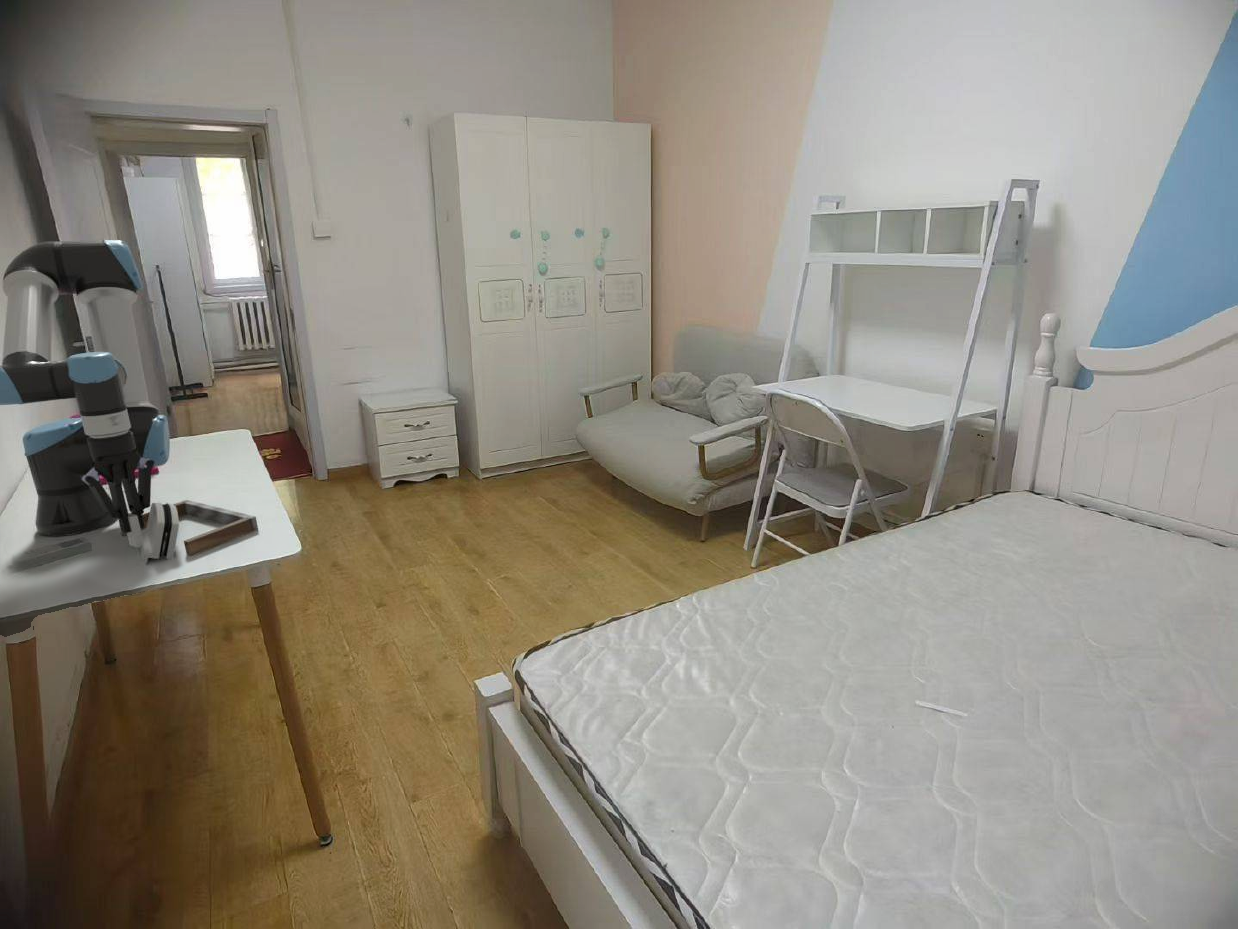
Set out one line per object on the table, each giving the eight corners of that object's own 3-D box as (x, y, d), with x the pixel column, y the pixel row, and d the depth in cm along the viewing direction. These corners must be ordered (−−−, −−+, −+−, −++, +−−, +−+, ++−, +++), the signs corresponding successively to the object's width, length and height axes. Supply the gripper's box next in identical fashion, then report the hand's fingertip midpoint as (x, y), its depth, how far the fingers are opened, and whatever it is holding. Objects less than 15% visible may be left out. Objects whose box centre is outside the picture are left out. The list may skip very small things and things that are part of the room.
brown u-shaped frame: (122, 535, 159) (118, 522, 158) (189, 511, 171) (186, 499, 170) (191, 555, 147) (188, 542, 146) (258, 529, 159) (255, 516, 158)
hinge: (137, 539, 156) (146, 493, 155) (163, 540, 159) (172, 496, 158) (143, 565, 143) (153, 516, 142) (171, 566, 146) (181, 518, 145)
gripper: (82, 443, 135) (112, 560, 143) (154, 427, 146) (179, 536, 153) (61, 439, 139) (92, 553, 146) (133, 423, 150) (159, 530, 157)
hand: (137, 544), depth 150 cm, fingers closed
